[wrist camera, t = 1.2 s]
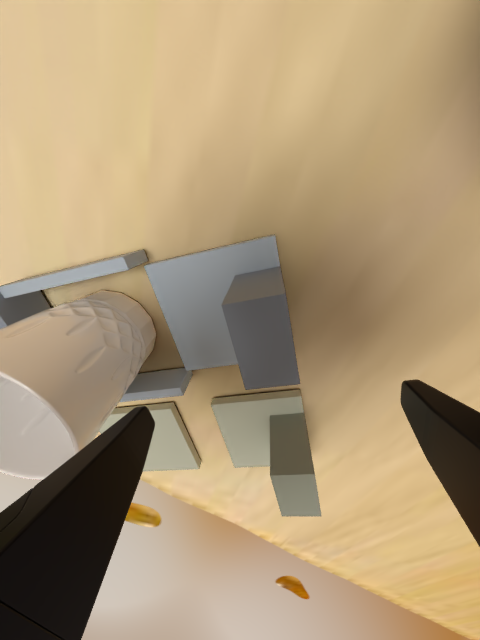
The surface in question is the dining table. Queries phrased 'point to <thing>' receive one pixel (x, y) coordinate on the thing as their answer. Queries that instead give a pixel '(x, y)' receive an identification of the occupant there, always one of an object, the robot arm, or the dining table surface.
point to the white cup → (66, 378)
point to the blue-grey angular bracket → (196, 312)
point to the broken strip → (244, 443)
